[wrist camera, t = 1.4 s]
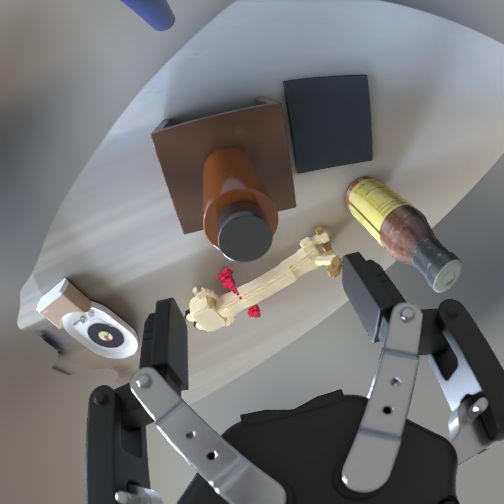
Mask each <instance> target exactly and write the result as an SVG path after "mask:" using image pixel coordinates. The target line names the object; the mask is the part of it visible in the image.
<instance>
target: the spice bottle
mask: <svg viewBox="0 0 504 504" xmlns="http://www.w3.org/2000/svg"><path fill="white" fill-rule="evenodd" d="M277 225H278V212H277V209H276V206H275V204H274V202H273V200H272V198H271V196H270V195H269V193H268V191H267V189H266V187H265V185H264V183H263V181H262V179H261V177H260V175H259V174H258V172H257V170H256V168H255V166H254V164H253V162H252V160H251V159H250V157H249V156H248V155H247V154H246V153H245V152H243V151H242V150H240V149H237V148H232V147H226V148H221V149H219V150H216V151H215V152H213V153H212V154H211V155H210V156H209V157H208V158H207V159H206V161H205V163H204V166H203V226H204V231H205V234H206V236H207V238H208V240H209V241H210V242H211V243H212V244H213V245H214V246H215V247H217V248H218V249H220V250H221V252H222V253H223V254H224V255H225V256H226V257H227V258H229V259H230V260H233V261H236V262H250V261H254V260H256V259H258V258H260V257H262V256H263V255H264V254H265V253H266V252H267V251H268V250H269V248H270V246H271V244H272V240H273V235H274V233H275V231H276V229H277Z"/></svg>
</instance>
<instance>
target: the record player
mask: <svg viewBox="0 0 504 504" xmlns="http://www.w3.org/2000/svg"><path fill="white" fill-rule="evenodd" d="M37 310H38V311H39V312H40V313H41V314H42V315H44V316H45V317H46V318H47V319H48V320H50V321H51V322H52V323H53V324H55V325H56V326H57V327H58V328H60V329H62V327H63V326H64V328H65V329H66V331H67V332H68V333H69V334H70V335H71V336H72V337H73V338H75V339H76V340H77V341H79V342H80V343H81V344H83V345H84V346H86V347H87V348H88V349H90V350H91V351H93V352H95V353H96V354H99V355H101V356H104V357H108V358H125V357H129V356H131V355H132V354H134V353H135V352H136V350H137V346H138V336H137V334H136V332H135V331H134V329H133V328H132V327H130V326H129V325H128V324H127V323H126V322H124V321H123V320H122V319H121V318H119V317H118V316H117V315H116V314H114V313H113V312H112V311H111V310H109V309H108V308H107V307H105V306H103V305H101V304H99V303H96V302H93V301H90V300H89V299H88V298H87V297H86V296H85V295H83V294H82V293H81V292H80V291H79V290H78V289H77V288H76V287H75V286H73V285H72V284H71V283H70V282H69V281H68V280H67V279H66V278H64V279H63V280H62V281H61V282H59V283H58V284H57V285H56V286H55V287H53V288H52V289H51V290H50V291H49V292H48V293H46V294H45V295H44V296H43V297H42V298H41V300H40V301H39V303H38V306H37Z"/></svg>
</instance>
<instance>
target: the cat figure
mask: <svg viewBox="0 0 504 504" xmlns="http://www.w3.org/2000/svg"><path fill="white" fill-rule="evenodd" d="M315 232H316V234H317V235H315V236H313V237H312V238H310V237H309V238H308V237H306V238H304V239H303V240H301V241H300V242H301V243H299V244H300V246H301V248H300V249H299V250H297V251H296V253H295V254H293V255H292V256H290V257H288V258H287V259H285V260H283V261H282V262H280V263H279V265H278V266H276V267H274V268H273V269H271V270H269V271H268V272H266V273H264V274H262V275H261V276H259V277H257V278H256V279H254V280H252V281H251V282H249V283H247V284H246V283H245V284H243V285H241V286H240V287H238V288H236V287H235V285H234V284H235V282H234V280H233V278H232V275H231V274H232V273H233V271H232V270H230V269H228V267H227V268H226V269H224V270H223V272H222V273H220V274H218V278H219V279H220V280H221V281H223V282H224V283H223V284H222V285H223V287H224V289H230V288H231V289H232V291H231V292H227V293H225V294H223V295H222V296H220V297H218V295H217V294H216V293H215V292H214V291H213V290H211V291H210V290H209V289H206V288H205V289H204V288H203V287H202V288H201V291H200V290H199V289H197V288H196V287H195V288H194V289H193V293H194V294H195V295H196V297H194V298H192V299H191V301H190V303H189V306H190V308H189V309H188V310H187V311H185V313H184V314H183V315H184V316H185V319H186V320H187V321H191V322H193V321H195V322H194V327H195V328H197V329H199V330H200V329H201V330H203V329H205V330H206V331H208V332H210V331H211V332H213V331H215V330H217V329H218V328H220V327H222V326H224V325H226V326H227V327H228V326H229V325H230V323H232V322H234V321H235V314H237V313H238V312H240V311H242V310H244V309H245V308H247V307H249V306H251V308H249V309H248V310H249V312H248V314H249V316H250V317H251V316H252V317H255V318H256V317H260V316H261V315H260V309H259V307H258V305H257V303H259V302H260V301H262V300H264V299H266V298H267V297H269V296H271V295H273V294H274V293H276V292H278V291H279V290H281V289H283V288H284V287H286V286H288V285H290V284H291V283H293V282H295V281H296V279H297V278H298V277H300V276H302V275H303V274H305V273H307V272H308V271H310V270H312V269H314V270H315V269H316V268H318V267H320V266H321V265H325V266H326V265H328V268H327V271H328V273H329V275H330V276H331V277H336V276H337V275H339V274H340V273H339V272H341V271H340V270H341V269H342V268H341V267H343V266H342V264H341V263H342V261H341V258H340V257H339V256H338V255H336V253H335V252H334V251H333V249H332V248H331V246H330V245H329V243H327V244H325V245H324V246H323V248H324V250H325V252H326V253H325V252H323V253H322V254H320V252H319V251H318V249H317V247H316V245H317V244H322V243H323V242H324V243H326V242H327V241H329V240H330V239H329V237H328V235H327V234H326V233H325V232H324V230H323V228H322V227H321V226H318V227H316V228H315ZM227 317H228V318H229V319H227Z"/></svg>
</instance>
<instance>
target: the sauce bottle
mask: <svg viewBox="0 0 504 504" xmlns="http://www.w3.org/2000/svg"><path fill="white" fill-rule="evenodd" d="M345 200H346V204H347V206H348V208H349V210H350V211H351V213H352V214H353V215H354V216H355V217H356V218H357V220H358V221H359V222H360V223H361V224H362V225H363V226H364V227H365V228H366V229H367V230H368V231H369V232H370V233H371V234H372V235H373V236H374V238H375V239H376V240H377V241H378V242H379V243H380V244H381V245H382V246H383V247H384V248H385V249H386V250H387V251H388V252H389V253H390V254H391V255H392V256H393V257H394V258H395V259H396V260H399V261H401V262H403V263H406V264H411V265H414V266H415V268H417V269H418V270H419V271H420V272H421V273H422V274H423V275H424V276H425V277H426V279H427V282H428V284H429V285H430V286H431V287H432V289H434V290H435V291H436V292H443V291H445V290H447V289H449V288H450V287H451V286H452V285H453V284H454V283H455V281H456V280H457V279H458V277H459V275H460V274H461V271H462V262H461V261H460V259H459V258H458V257H457V256H456V255H455V254H454V253H452V252H449V251H448V250H447V249H446V248H445V247H444V246H443V245H442V244H441V243H440V242H439V240H437V239H436V237H435V235H434V233H433V231H432V229H431V228H430V226H429V224H428V222H427V220H426V218H425V216H424V215H423V214H422V213H421V212H420V211H419V210H418V209H416V208H415V207H414V206H412V205H411V204H410V203H408V202H407V201H406V200H404V199H403V198H402V197H400V196H399V195H398V194H396V193H395V192H394V191H392V190H391V189H390V188H388V187H387V186H386V185H384V184H383V183H381V182H380V181H378V180H376V179H373V178H370V177H362V178H359V179H357V180H355V181H354V182H353V183H351V184H350V186H349V188H348V190H347V193H346V198H345Z"/></svg>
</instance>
